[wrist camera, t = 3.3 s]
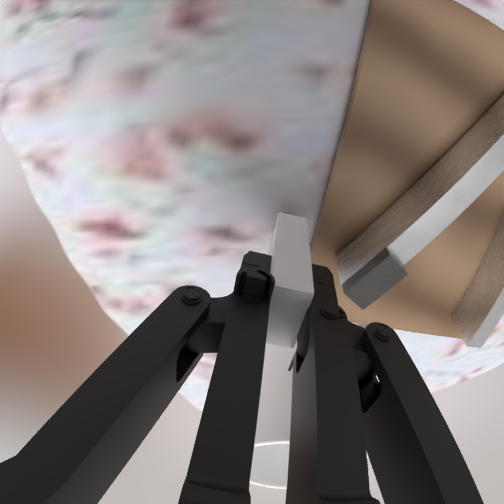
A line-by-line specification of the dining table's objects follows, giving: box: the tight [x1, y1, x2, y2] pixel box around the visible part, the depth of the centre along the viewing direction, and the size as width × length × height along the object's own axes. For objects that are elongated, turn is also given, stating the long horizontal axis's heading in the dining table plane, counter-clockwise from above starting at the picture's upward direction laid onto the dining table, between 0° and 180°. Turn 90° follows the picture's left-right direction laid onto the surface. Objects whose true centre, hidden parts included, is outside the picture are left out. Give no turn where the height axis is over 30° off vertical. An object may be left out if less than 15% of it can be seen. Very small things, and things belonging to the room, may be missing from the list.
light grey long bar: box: [335, 94, 504, 310], centre depth 14 cm, size 16×2×4 cm, turn 139°
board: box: [310, 0, 504, 339], centre depth 17 cm, size 22×16×1 cm
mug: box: [249, 340, 369, 489], centre depth 21 cm, size 12×8×10 cm
